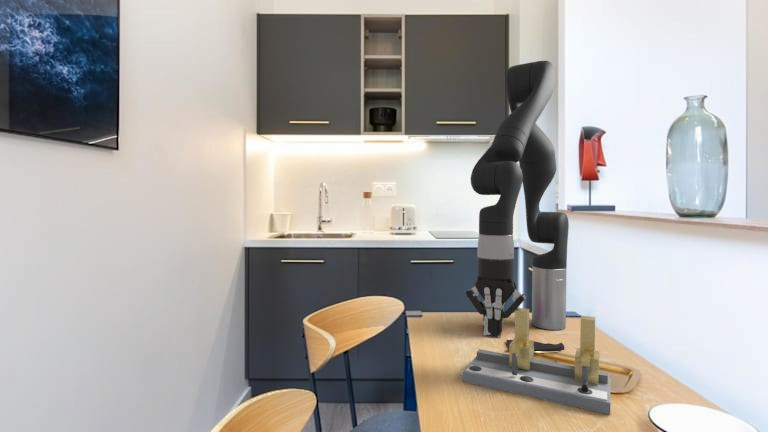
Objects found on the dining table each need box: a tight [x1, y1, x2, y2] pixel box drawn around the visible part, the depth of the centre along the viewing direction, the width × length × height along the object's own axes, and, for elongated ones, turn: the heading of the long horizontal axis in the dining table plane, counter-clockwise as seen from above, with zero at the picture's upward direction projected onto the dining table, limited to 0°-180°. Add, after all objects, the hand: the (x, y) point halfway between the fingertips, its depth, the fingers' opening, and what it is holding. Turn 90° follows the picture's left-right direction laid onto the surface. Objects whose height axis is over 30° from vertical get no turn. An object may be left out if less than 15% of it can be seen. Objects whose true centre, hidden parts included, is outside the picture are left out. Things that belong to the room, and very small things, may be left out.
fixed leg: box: [574, 315, 600, 392], centre depth 76 cm, size 10×4×12 cm, turn 151°
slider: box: [508, 307, 535, 375], centre depth 82 cm, size 10×4×11 cm, turn 151°
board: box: [462, 349, 612, 415], centre depth 81 cm, size 12×26×4 cm, turn 61°
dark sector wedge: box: [506, 339, 565, 352], centre depth 100 cm, size 8×14×2 cm, turn 80°
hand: (494, 335), depth 87 cm, fingers closed
